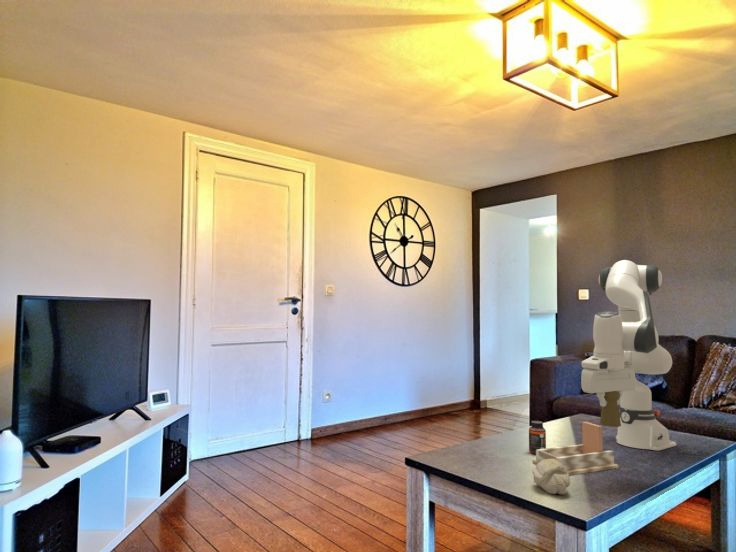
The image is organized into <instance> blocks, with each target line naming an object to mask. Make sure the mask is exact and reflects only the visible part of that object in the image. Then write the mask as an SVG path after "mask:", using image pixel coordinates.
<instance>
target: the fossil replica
mask: <svg viewBox="0 0 736 552" xmlns="http://www.w3.org/2000/svg"><path fill="white" fill-rule="evenodd" d="M532 475H533V482H534V483H535V485H537V486H538V487H540V488H542V489H543V490H544V491H545V492H546V493H547V494H549V495H556V494H559V495H564V494H566V493H567V488H568V487H570V486H571V479H570V475H569V474H568V473H567V470H566V469H565V468H564V466H563V465H562V464H561V463H560V462H558V461H556V460H555V459H545V460H542V461H540V462H539V463H538V464H537V465H536V464H535V467H534V468H533V469H532Z"/></svg>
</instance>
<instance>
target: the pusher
mask: <svg viewBox="0 0 736 552" xmlns="http://www.w3.org/2000/svg"><path fill="white" fill-rule="evenodd" d="M581 425H582V426H581V429H582V430H581V432H582V435H581V436H582V437H581V438H582V444H583V454H586V453H594V452H602V451H604V450H603V449H604V448H603V447H604V446H603V445H604V444H603V443H604V442H603V440H604V439H603V425H598V424H594V423H591V422H588V421H582V422H581Z"/></svg>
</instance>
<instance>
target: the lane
mask: <svg viewBox="0 0 736 552" xmlns="http://www.w3.org/2000/svg"><path fill="white" fill-rule="evenodd" d="M545 459H555V460H556V461H558V462H560V463H561V464H562V465H563V466H564V468H565V469H566V470H567V473H568V474H569V476H575V475H580V474H581V473H582V474H588V472H589V473H594V472H601V471H607V470H608V471H609V470H616V469H619V464H616V463H615V451H613V450H610V449H609V450H603V451H602V452H594V453H586V454H583V443H579V444H573V445H564V446H563V445H562V446H557V447H546V449H537V450H536V454H535V459H532V464H533V465H535V466H536V465H537V464H538V463H539V462H540V461H542V460H545ZM615 468H616V469H615Z"/></svg>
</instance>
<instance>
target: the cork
mask: <svg viewBox="0 0 736 552" xmlns="http://www.w3.org/2000/svg"><path fill="white" fill-rule="evenodd" d="M604 398H605V400H606V401H608V403H607V404H608V405H607V406H606V407H602V406H601V409H600V411H601V412H600V421H599V424H600V426H606V427H610V428H618V427H620V426H621V422H620V415H619V405H618V404H617V400H618V398H619V394H618V392H617V391H612V392H605V396H604Z"/></svg>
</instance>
